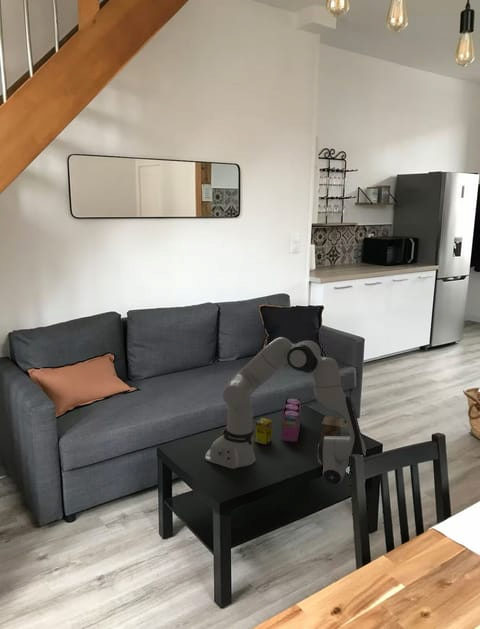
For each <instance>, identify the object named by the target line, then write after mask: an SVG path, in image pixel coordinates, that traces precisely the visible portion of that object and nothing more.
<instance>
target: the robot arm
mask: <svg viewBox="0 0 480 629" xmlns="http://www.w3.org/2000/svg"><path fill="white" fill-rule="evenodd" d="M286 364H288V365H289V367H291V368H292V369H293V370H296V371H300V372H303V373H306V374H310V373H311V375H312V381H313V391H314V393H313V394H314V396H315V399H316V401H317V402H318V403H319V404H321V405H322V406H324V407H325V408H328V409H331V410H334V411H336V412H338V413H340V414H341V415H343V417H344V419H345V423H347V426H348V429H349V433H350V436H324V437H323V438H322V439H321V438H320V439H321V440H320V441H319V443H318V445H317V463H319V464H321V465H322V466H323V467H322V468H323V469H322V478H323V479H324V481H325V482H327V483H328V484H330V485H337V484H340V483H341V482H342V481H343V479H344V477H345V475H346V472H347V469H348V467H349V464H350V463H349V456H350V455H351V454H361V455H363V456H364V457H366V454H367V448H366V444H365V442H364V438H363V435H362V432H361V429H360V425H359V422H358V417H357V414H356V409H355V407H354V403H353V401H352V399H351V398H350V396H347V395H346V393H345V392H344V389H343V386H342V380H341V374H340V370H339V368H340V367H339V364H338V362H337V361H336V360H335V359H334V358H333V357H328V356H323V349H322V347H321V345H320V344H319V343H318V342H317V341H315V340H312V339H305V340H300V341H296V342H295V343H293V342H292V341H290V339H288V338H286V337H284V336H279V337H277V338H275V339H273V340H272V341H271V342H269V343H268V344H267V345H265V346H264V347H262V349H261V350H260V351H259V352H258V353H257V354H256V355H255V356H253V358H252V359H251V360H249V362H248V363H246V364H245V365H244V366H243V367H242V368H241V369H240V370H239V371H238V372H237V373H236V374H235V375H234V376H233V377H232V378H231V379H230V380H229V381H228V383H227V384H225V386H224V389H223V393H222V397H223V401H224V402H225V405H226V406H225V407H226V410H227V424H226V425H225V427H224V429H223V430H222V433H221V434H222V435H221V436H219V437H218V438H217V439H215V440H214V441H213V443H212V444H211V445H210V449H208V450H207V452H206V453H205V455H204V456H205V457H204V460H205V461H206V462H210V463H212V464H217V465H218V466H223V467H226V468H229V469H231V470H233V469H234V470H235V469H237V468H243V467H247V466H252V464H254V463H255V462H256V461H257V460H256V456H255V452H254V441H255V440H254V436H255V434H254V427H253V422H254V413H253V410H252V407H251V399H252V396H253V394H254V393H255V392H256V391H257V389H259V388H260V387H261V386H262V385H264V384H265V383H266V382H268V381H269V380H270V379H271V378H272V377H273V376H274V375H276V373H277V372H278V371H279V370H281V369H282V368H283V367H284V366H285V365H286Z"/></svg>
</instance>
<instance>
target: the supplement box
mask: <svg viewBox="0 0 480 629" xmlns="http://www.w3.org/2000/svg"><path fill="white" fill-rule="evenodd" d="M272 432H273V420H271V419H268V418H264V417H261V418H260V419H258V420H256V421H255V434H254V436H255V440H254V441H255V442H254V443H255V444H259V445H261V446H267V445H268V444H269V443H272Z"/></svg>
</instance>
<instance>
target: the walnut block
mask: <svg viewBox="0 0 480 629" xmlns="http://www.w3.org/2000/svg"><path fill="white" fill-rule="evenodd" d="M342 423H346V419H345V418H341V417H334V416H328V415H324V418H323V420H322V422H321V427H320V431H321V432H320V439H322V438H323V437H324V436H340V432H341V425H342Z"/></svg>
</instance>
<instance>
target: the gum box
mask: <svg viewBox="0 0 480 629" xmlns="http://www.w3.org/2000/svg"><path fill="white" fill-rule="evenodd" d="M301 401H302V400H301V398H300V397H299V398H297V399H295V398H289V397H286V398H285V402H284V407H283V413H282V423H281V424H282V428H281V441H283V442H284V441H285V442H295V443H297V442H298V440H299V434H300V426H301V425H300V424H301V407H302V406H301V403H302V402H301Z"/></svg>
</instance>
